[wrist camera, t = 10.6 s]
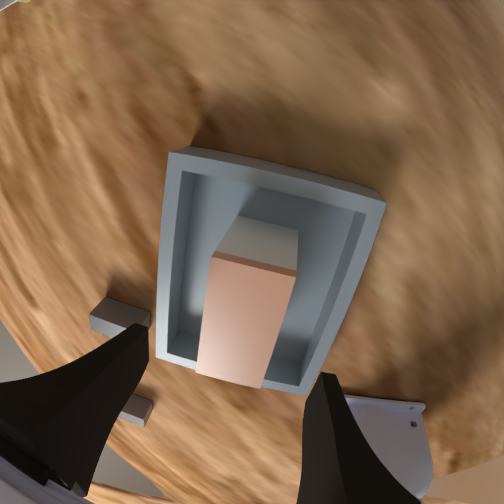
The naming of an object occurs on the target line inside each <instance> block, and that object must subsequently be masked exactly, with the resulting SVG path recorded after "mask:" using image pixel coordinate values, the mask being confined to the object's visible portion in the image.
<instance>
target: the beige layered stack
mask: <svg viewBox="0 0 504 504" xmlns="http://www.w3.org/2000/svg"><path fill="white" fill-rule="evenodd" d="M16 1H18V2H24V3H26V2H29V1H30V0H0V11H1V10H3V9H5V8H6V7H8V6H10V5H12V4H13V3H15V2H16Z"/></svg>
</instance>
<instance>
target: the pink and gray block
mask: <svg viewBox="0 0 504 504" xmlns="http://www.w3.org/2000/svg"><path fill="white" fill-rule="evenodd" d="M297 250H298V230H296V229H292V228H288V227H284V226H280V225H276V224H272V223H268V222H263V221H259V220H255V219H251V218H246V217H242V216H238V215H237V217H236V218H235V220H234V221H233V223H232V224H231V226H230V228H229V229H228V231H227V232H226V234H225V235H224V237H223V239H222V240H221V242H220V243H219V245H218V247H217V248H216V250H215V251H214V253H213V255H212V256H211V261H210V268H209V274H208V281H207V288H206V296H205V303H204V310H203V318H202V325H201V333H200V341H199V349H198V357H197V366H196V373H200V374H203V375H207V376H210V377H214V378H218V379H221V380H225V381H229V382H233V383H237V384H241V385H245V386H249V387H254V388H258V389H260V387H261V385H262V382H263V379H264V376H265V373H266V370H267V367H268V364H269V361H270V358H271V355H272V352H273V349H274V346H275V343H276V340H277V337H278V334H279V331H280V328H281V325H282V322H283V318H284V315H285V312H286V309H287V306H288V303H289V299H290V296H291V293H292V290H293V286H294V283H295V280H296V271H297Z"/></svg>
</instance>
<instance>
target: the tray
mask: <svg viewBox="0 0 504 504" xmlns="http://www.w3.org/2000/svg"><path fill="white" fill-rule="evenodd" d="M386 205H387V203H386V201H385V200H384V199H383V198H382V197H381V196H380V195H379V194H378V193H377V192H376V191H375V190H374V189H373V188H369V187H366V186H363V185H359V184H356V183H352V182H349V181H345V180H342V179H338V178H334V177H331V176H327V175H323V174H319V173H316V172H312V171H308V170H304V169H300V168H296V167H292V166H287V165H283V164H279V163H275V162H270V161H266V160H261V159H257V158H252V157H247V156H242V155H237V154H232V153H227V152H222V151H217V150H211V149H206V148H200V147H194V146H187V147H184V148H180V149H177V150H174V151H170V152H169V156H168V164H167V172H166V181H165V190H164V199H163V209H162V220H161V232H160V246H159V261H158V280H157V306H156V357H157V358H160V359H163V360H166V361H169V362H172V363H175V364H179V365H182V366H185V367H188V368H192V369H195V370H196V366H197V357H198V349H199V341H200V333H201V325H202V318H203V310H204V303H205V296H206V288H207V281H208V274H209V268H210V261H211V256H212V255H213V253H214V251H215V250H216V248H217V247H218V245H219V243H220V242H221V240H222V239H223V237H224V235H225V234H226V232H227V231H228V229H229V228H230V226H231V224H232V223H233V221H234V220H235V218H236V217H237V215H238V216H242V217H246V218H251V219H255V220H259V221H263V222H268V223H272V224H276V225H280V226H284V227H288V228H292V229H296V230H298V250H297V271H296V280H295V283H294V286H293V290H292V293H291V296H290V299H289V303H288V306H287V309H286V312H285V315H284V318H283V322H282V325H281V328H280V331H279V334H278V337H277V340H276V343H275V346H274V349H273V352H272V355H271V358H270V361H269V364H268V367H267V370H266V373H265V376H264V379H263V382H262V385H261V387H265V388H270V389H275V390H279V391H284V392H289V393H294V394H300V395H305V396H307V395H308V393H309V391H310V389H311V387H312V385H313V383H314V381H315V379H316V377H317V375H318V373H319V371H320V369H321V367H322V365H323V363H324V360H325V358H326V356H327V354H328V352H329V350H330V348H331V346H332V343H333V341H334V339H335V337H336V335H337V332H338V330H339V328H340V326H341V323H342V321H343V319H344V316H345V314H346V312H347V309H348V307H349V305H350V302H351V300H352V297H353V295H354V293H355V290H356V288H357V285H358V283H359V280H360V278H361V275H362V272H363V270H364V267H365V265H366V262H367V259H368V257H369V254H370V251H371V248H372V246H373V243H374V240H375V237H376V234H377V231H378V229H379V226H380V223H381V220H382V217H383V214H384V211H385V208H386Z"/></svg>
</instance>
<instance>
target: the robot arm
mask: <svg viewBox="0 0 504 504" xmlns="http://www.w3.org/2000/svg"><path fill="white" fill-rule="evenodd" d="M148 362H149V343H148V327H146V326H143V325H140V324H138V323H134V324H132V325H131V326H129V327H128V328H126V329H125V330H123V331H122V332H121V333H119V334H118V335H116V336H115V337H113V338H112V339H110V340H109V341H107V342H106V343H104V344H102V345H101V346H99V347H98V348H96V349H94V350H93V351H91V352H89V353H87V354H86V355H84V356H82V357H80V358H79V359H77V360H75V361H73V362H71V363H68V364H66V365H64V366H62V367H59V368H57V369H54V370H52V371H49V372H46V373H43V374H40V375H37V376H34V377H30V378H25V379H21V380H16V381H10V382H3V383H0V504H94V503H92V502H90V501H88V500H86V499H84V498H82V497H86V496H87V494H88V491H89V487H90V484H91V481H92V478H93V474H94V472H95V468H96V466H97V463H98V460H99V458H100V455H101V453H102V450H103V448H104V445H105V443H106V440H107V438H108V436H109V434H110V431H111V429H112V427H113V425H114V423H115V421H116V419H117V417H118V416H119V414H120V413H121V411H122V409H123V408H124V406H125V404H126V403H127V401H128V400H129V398H130V396H131V395H132V393H133V391H134V390H135V388H136V386H137V385H138V383H139V381H140V380H141V378H142V375H143V373H144V371H145V369H146V366H147V364H148ZM425 408H426V406H425V404H424V403H418V402H405V401H394V400H385V399H376V398H368V397H360V396H353V395H346V394H343V391H342V389H341V387H340V384H339V382H338V379H337V377H336V375H335V374H331V373H325V372H321V373H320V375H319V377H318V379H317V381H316V383H315V385H314V387H313V389H312V391H311V393H310V394H309V396H308V398H307V400H306V403H305V410H304V417H303V433H302V472H301V481H300V487H299V493H298V499H297V504H424V502H423V500H422V499H421V498H422V497H423V496H424V494H425V493H426V491H427V490H428V488H429V485H430V483H431V479H432V473H433V462H432V456H431V451H430V447H429V442H428V438H427V434H426V430H425V426H424V422H423V418H422V414H421V413H422V412H423V411H424V409H425Z"/></svg>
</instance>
